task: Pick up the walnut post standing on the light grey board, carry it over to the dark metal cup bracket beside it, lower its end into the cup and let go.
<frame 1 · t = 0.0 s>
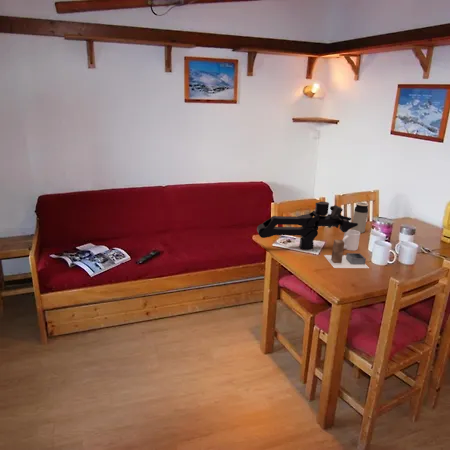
hand: (354, 221, 219), 17 cm above the table, tool horizontal, fingers open, 9 cm apart
travel mug: (357, 231, 256), on the table
post: (336, 261, 206), point 1 cm above the table, touching board
board: (345, 263, 206), on the table
cup bracket: (355, 263, 207), resting on board
mug: (347, 250, 224), on the table
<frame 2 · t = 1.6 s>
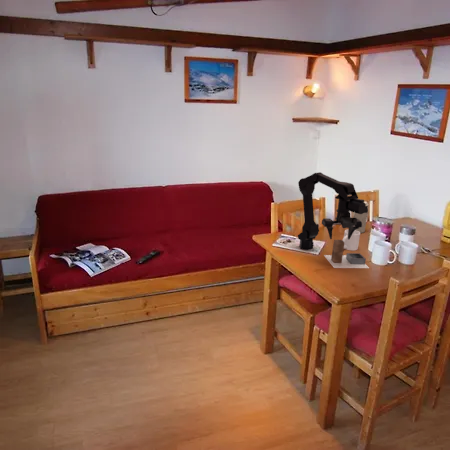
hand: (339, 239, 202), 13 cm above the table, tool pointing down, fingers open, 9 cm apart
nothing on the table moved.
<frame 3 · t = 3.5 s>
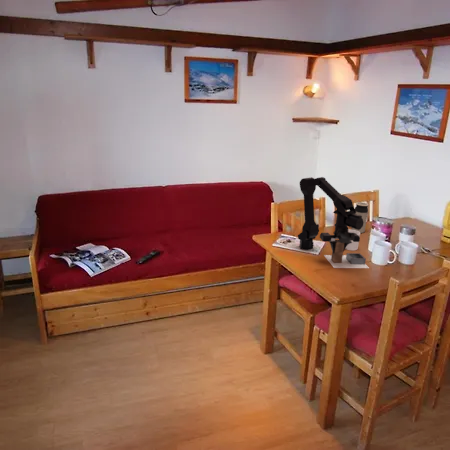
hand: (337, 253, 204), 6 cm above the table, tool pointing down, fingers closed on post, 4 cm apart
post: (336, 261, 206), point 1 cm above the table, touching board, gripper
everything else where it was.
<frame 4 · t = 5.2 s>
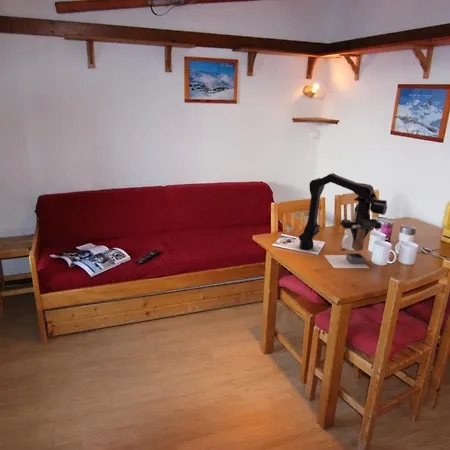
hand: (358, 240, 203), 13 cm above the table, tool pointing down, fingers closed on post, 4 cm apart
post: (357, 248, 204), point 8 cm above the table, touching gripper
everything else where it was.
when the fingers open (6 cm above the table, at t = 7.2 s): post stays where it is, resting on board.
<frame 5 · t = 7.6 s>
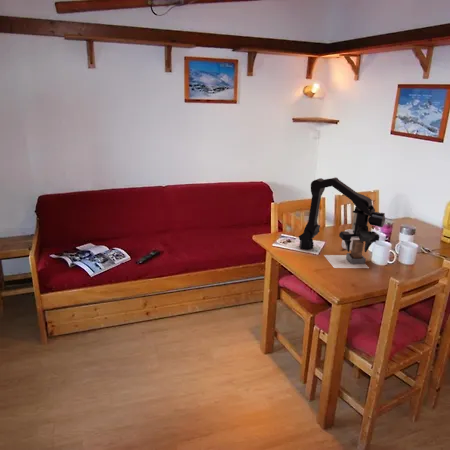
hand: (356, 251, 205), 6 cm above the table, tool pointing down, fingers open, 9 cm apart
post: (355, 261, 206), point 1 cm above the table, touching board
everything else where it was.
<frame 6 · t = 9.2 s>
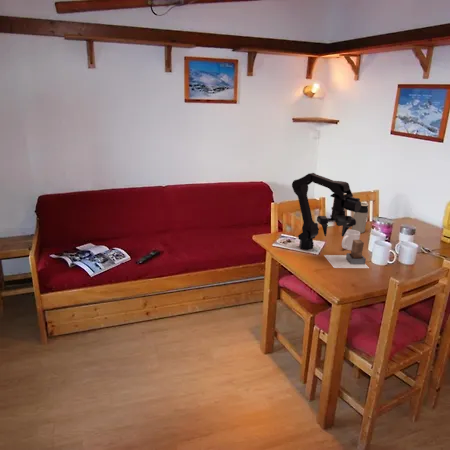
hand: (333, 236, 207), 13 cm above the table, tool pointing down, fingers open, 9 cm apart
nothing on the table moved.
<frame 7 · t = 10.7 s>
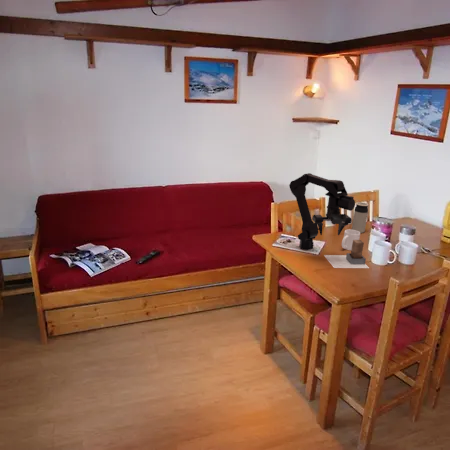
hand: (329, 235, 207), 13 cm above the table, tool pointing down, fingers open, 9 cm apart
nothing on the table moved.
at the end: post 0.1 cm off-centre on the cup bracket, point 1.0 cm above the cup bracket's base; post tilted 0°; the gripper is holding nothing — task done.
